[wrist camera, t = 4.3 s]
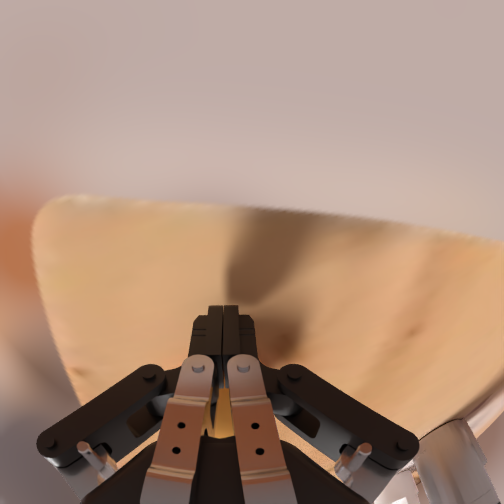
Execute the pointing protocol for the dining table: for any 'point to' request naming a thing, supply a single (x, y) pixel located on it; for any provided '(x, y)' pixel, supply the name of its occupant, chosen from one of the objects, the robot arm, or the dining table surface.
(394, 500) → the cylinder with rectangular tab
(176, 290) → the dining table surface
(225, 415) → the ball
